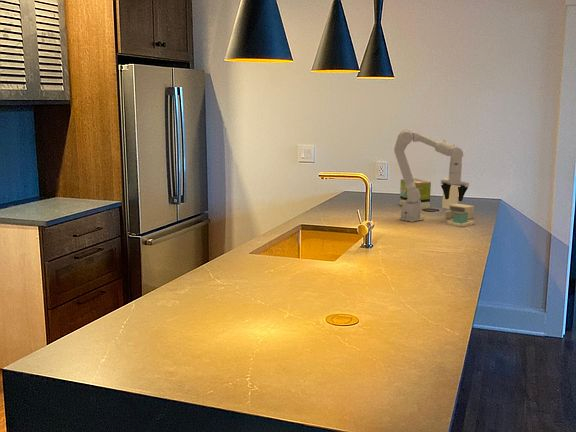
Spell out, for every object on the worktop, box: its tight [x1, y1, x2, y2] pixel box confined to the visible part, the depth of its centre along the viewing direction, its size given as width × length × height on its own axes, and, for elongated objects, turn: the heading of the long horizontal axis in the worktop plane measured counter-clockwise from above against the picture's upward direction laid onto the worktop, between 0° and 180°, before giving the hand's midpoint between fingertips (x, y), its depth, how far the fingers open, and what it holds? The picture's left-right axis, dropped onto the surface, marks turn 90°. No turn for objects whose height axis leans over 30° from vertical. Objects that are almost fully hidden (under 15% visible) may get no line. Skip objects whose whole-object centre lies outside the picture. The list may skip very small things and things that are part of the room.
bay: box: [443, 203, 475, 220], centre depth 327 cm, size 12×10×6 cm
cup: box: [441, 177, 460, 210], centre depth 356 cm, size 8×8×16 cm
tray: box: [445, 219, 475, 228], centre depth 312 cm, size 11×9×2 cm
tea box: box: [399, 178, 432, 210], centre depth 357 cm, size 15×10×15 cm, turn 25°
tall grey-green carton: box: [452, 212, 469, 224], centre depth 311 cm, size 6×4×5 cm, turn 132°
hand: (453, 200), depth 317 cm, fingers open, 7 cm apart
